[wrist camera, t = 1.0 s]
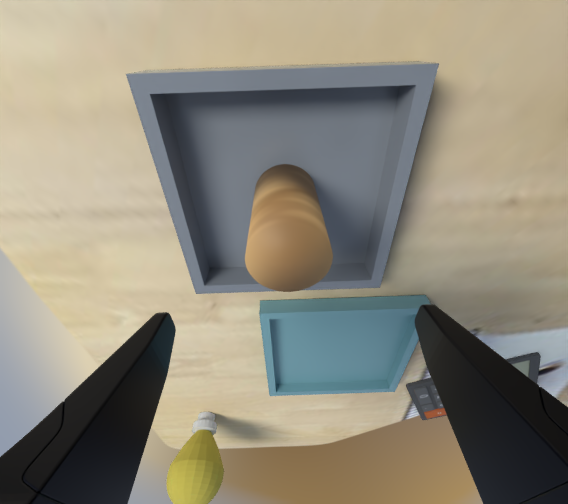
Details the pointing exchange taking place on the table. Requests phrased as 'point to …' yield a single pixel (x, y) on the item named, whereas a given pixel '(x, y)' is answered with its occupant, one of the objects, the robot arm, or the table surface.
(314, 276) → the wooden peg
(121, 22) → the table surface
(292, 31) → the table surface
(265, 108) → the shallow gray bin
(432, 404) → the calculator
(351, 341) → the tray
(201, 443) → the light bulb
